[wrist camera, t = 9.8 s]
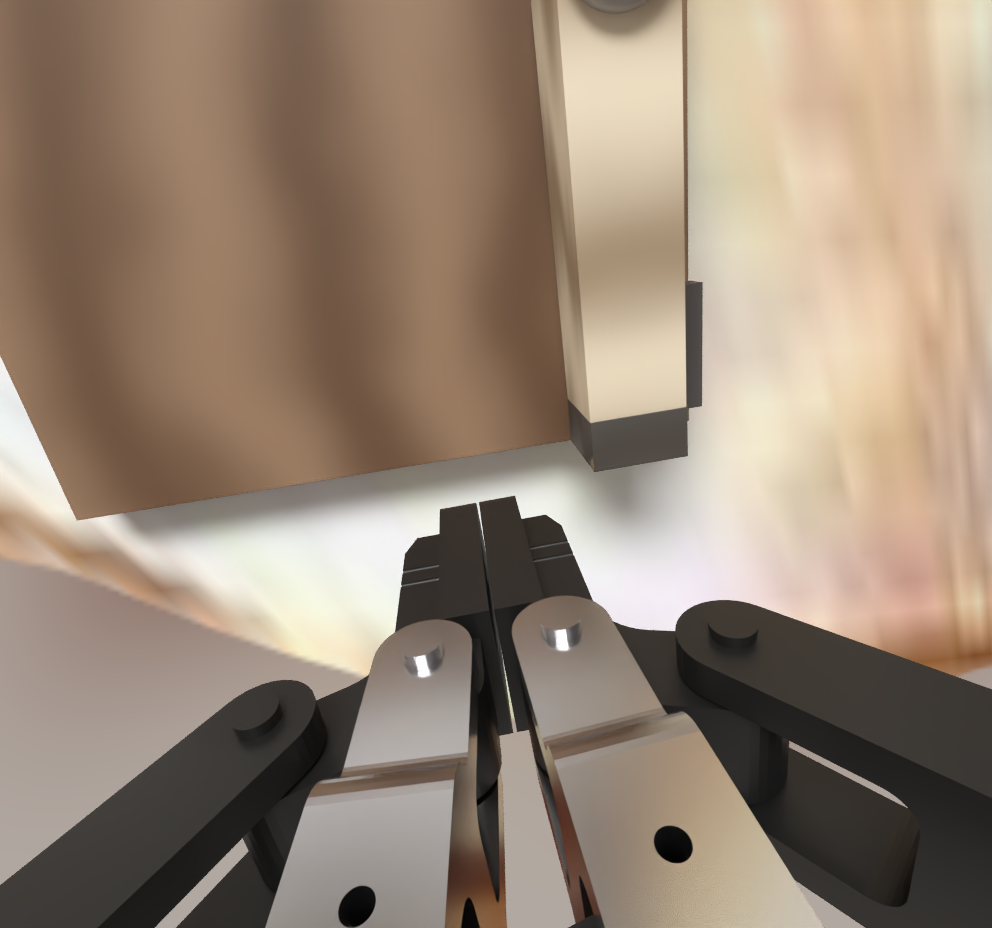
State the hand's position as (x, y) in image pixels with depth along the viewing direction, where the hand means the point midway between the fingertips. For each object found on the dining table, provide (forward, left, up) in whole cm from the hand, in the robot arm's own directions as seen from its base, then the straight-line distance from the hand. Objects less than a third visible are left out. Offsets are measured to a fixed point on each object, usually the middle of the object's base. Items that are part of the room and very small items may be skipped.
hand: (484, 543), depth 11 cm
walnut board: (+3, -6, -11) cm, 13 cm away
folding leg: (-5, -6, -9) cm, 12 cm away
